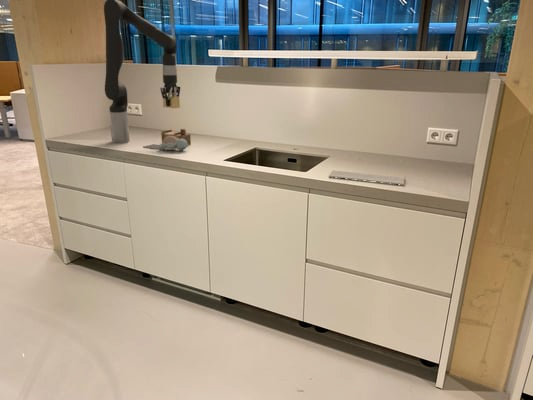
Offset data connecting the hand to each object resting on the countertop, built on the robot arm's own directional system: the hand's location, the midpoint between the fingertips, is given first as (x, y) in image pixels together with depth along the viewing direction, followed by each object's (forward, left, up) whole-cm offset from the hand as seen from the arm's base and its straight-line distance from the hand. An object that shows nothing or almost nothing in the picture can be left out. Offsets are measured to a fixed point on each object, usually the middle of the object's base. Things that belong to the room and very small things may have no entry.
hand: (171, 105), depth 228 cm
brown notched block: (+2, 0, -21) cm, 22 cm away
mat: (-2, -13, -21) cm, 25 cm away
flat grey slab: (+116, -8, -22) cm, 119 cm away
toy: (+12, -13, -22) cm, 28 cm away
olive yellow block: (0, 0, -1) cm, 1 cm away
